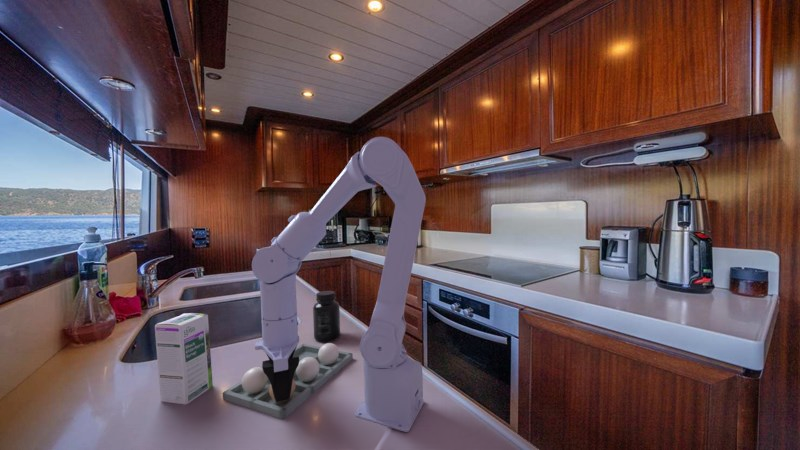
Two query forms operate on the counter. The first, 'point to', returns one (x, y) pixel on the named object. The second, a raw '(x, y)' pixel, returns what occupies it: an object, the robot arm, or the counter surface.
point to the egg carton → (308, 378)
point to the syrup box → (183, 357)
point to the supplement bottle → (326, 317)
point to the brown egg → (290, 394)
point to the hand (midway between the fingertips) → (282, 391)
